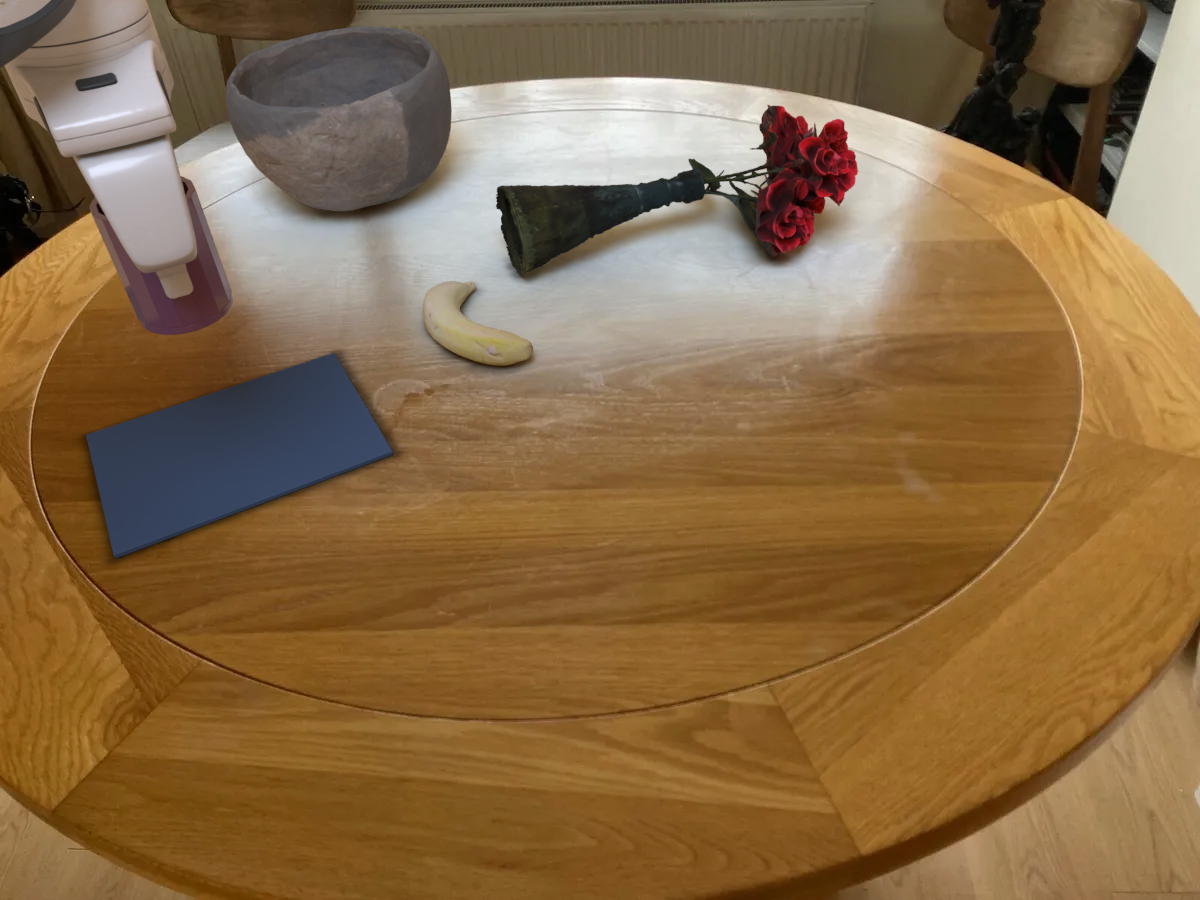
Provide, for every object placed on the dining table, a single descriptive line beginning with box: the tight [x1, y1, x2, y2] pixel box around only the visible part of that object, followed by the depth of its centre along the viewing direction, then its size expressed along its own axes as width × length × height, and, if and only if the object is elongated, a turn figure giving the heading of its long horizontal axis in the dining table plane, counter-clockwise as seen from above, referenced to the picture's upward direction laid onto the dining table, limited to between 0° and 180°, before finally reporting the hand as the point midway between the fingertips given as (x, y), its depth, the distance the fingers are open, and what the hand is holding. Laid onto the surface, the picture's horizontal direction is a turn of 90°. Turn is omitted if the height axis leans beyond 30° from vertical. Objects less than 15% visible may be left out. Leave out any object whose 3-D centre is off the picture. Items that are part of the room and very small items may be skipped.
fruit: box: [422, 280, 534, 366], centre depth 90 cm, size 7×15×3 cm, turn 28°
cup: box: [89, 175, 234, 336], centre depth 68 cm, size 7×7×9 cm
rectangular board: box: [85, 352, 394, 559], centre depth 81 cm, size 22×16×1 cm
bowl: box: [224, 26, 453, 212], centre depth 109 cm, size 24×24×15 cm
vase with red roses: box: [495, 104, 859, 276], centre depth 97 cm, size 16×18×35 cm
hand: (169, 265), depth 68 cm, fingers closed on cup, 7 cm apart
